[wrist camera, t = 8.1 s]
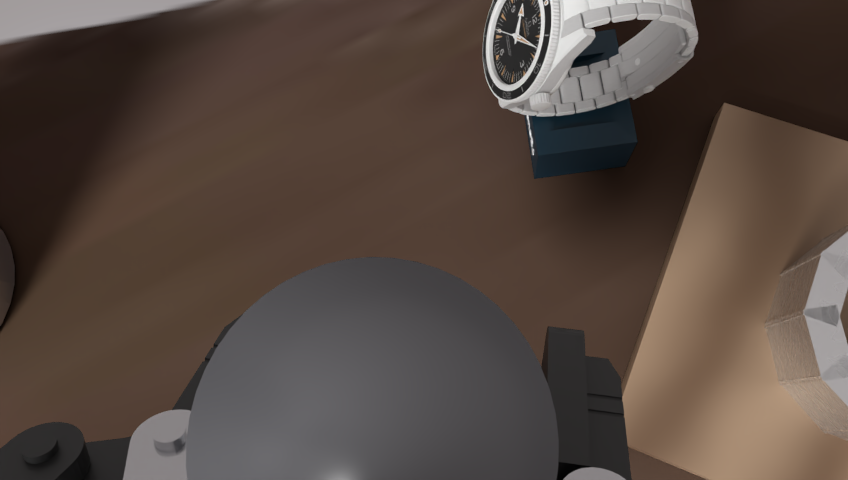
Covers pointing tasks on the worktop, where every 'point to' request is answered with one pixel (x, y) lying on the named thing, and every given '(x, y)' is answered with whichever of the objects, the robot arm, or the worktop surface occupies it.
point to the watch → (581, 73)
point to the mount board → (736, 308)
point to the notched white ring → (814, 333)
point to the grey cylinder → (373, 384)
